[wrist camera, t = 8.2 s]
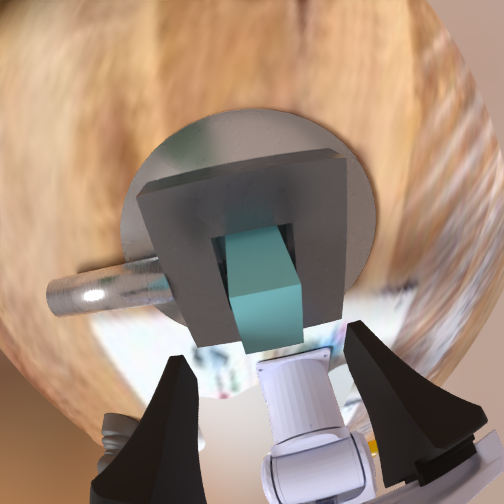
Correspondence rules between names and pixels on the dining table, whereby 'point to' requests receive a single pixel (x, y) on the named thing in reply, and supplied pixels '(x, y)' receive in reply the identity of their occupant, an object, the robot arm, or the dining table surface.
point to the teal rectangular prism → (264, 290)
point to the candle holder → (115, 436)
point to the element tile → (373, 448)
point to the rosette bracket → (233, 222)
